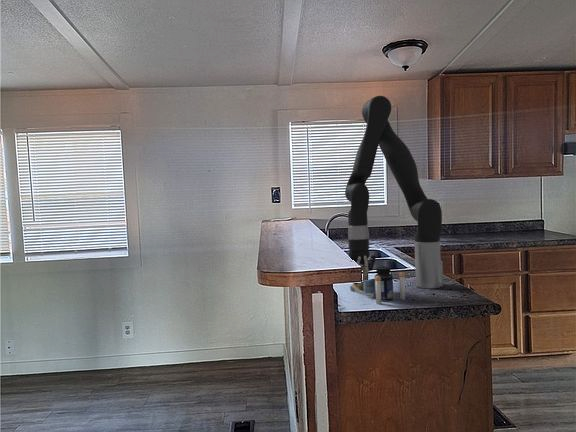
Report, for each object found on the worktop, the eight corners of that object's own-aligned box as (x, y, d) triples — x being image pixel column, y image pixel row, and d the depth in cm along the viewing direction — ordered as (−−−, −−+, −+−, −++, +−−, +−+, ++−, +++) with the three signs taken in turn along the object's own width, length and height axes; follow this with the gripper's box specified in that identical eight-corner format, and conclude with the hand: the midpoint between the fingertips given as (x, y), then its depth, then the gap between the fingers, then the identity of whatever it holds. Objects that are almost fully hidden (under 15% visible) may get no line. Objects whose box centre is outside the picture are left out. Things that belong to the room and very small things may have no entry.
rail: (360, 289, 172) (359, 284, 172) (382, 296, 159) (382, 291, 159) (350, 290, 170) (350, 286, 170) (372, 297, 157) (372, 292, 157)
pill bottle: (391, 296, 158) (389, 265, 157) (395, 301, 152) (394, 268, 151) (373, 297, 157) (372, 266, 157) (377, 302, 151) (376, 269, 151)
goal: (403, 298, 155) (402, 271, 154) (407, 299, 153) (406, 272, 152) (374, 303, 150) (373, 275, 149) (378, 304, 148) (377, 276, 147)
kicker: (366, 285, 171) (365, 264, 171) (384, 290, 161) (383, 268, 160) (348, 288, 168) (347, 266, 167) (365, 293, 158) (364, 271, 157)
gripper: (368, 235, 173) (370, 279, 174) (336, 238, 167) (338, 284, 168) (380, 236, 166) (382, 282, 167) (347, 239, 160) (349, 287, 161)
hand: (360, 283), depth 167 cm, fingers closed on kicker, 3 cm apart
